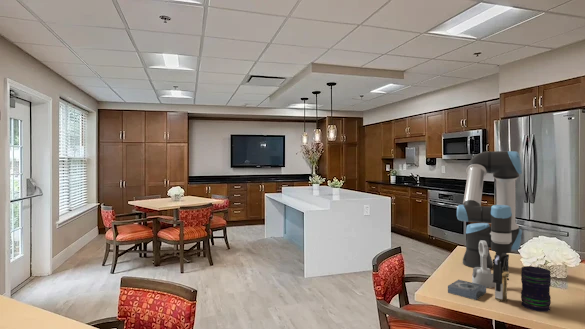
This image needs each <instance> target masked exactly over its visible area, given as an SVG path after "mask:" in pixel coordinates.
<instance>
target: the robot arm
mask: <svg viewBox="0 0 585 329" xmlns="http://www.w3.org/2000/svg"><path fill="white" fill-rule="evenodd" d="M522 167H523V166H522V160H521V154H520V152H518V151H516V150H515V151H514V150H513V151H512V150H499V151H497V150H496V151H494V150H493V151H489V150H488V151H482V152H480V153H478V154H476V155H475V156H473V157H472V158H471V159H470V160H469V161H468V163H467V165H466V170H465V173H466V174H467V176H466V181H465V183H466V184H465V190H464V196H463V202H462V204H458V205H457V207H456V218H457V220H458V221H461V222H466V223H468V222H469V223H470V224H467V225H466V228H465V229H466V230H465V235H466V236H465V238H466V239H465V252H464V254H463V257H462V265H465V266H467V267H470V268H475V267H481V258H480V254H479V242H480V241H481V240H483V241H486V242H487V245H488V256H487V268H489V269H492V268H493V269H492V274H493V282H494V283H495V287H494V299H495V298H498V299H503V283H502V273H503V270H504V271H508V272H509V258H510V255H509V254H510V253H511V252H512V251H518V250H519V249H520V247H521V242H522V234H523V230H522V229H521V228H520V227H519V226H520V225H519V224H517V223H516V181H517V179H519V178H520V175H522V174H523V168H522ZM487 174H492V177H493V179H495V180H496V204H493V205H492V206H483V205H482V196H483V190H484V189H483V187H484V179H485V176H486V175H487ZM490 250H491V251H493V252H495V255H494V256H493V257H494V258H492V256H491V253H490ZM508 281H510V278H509V276H507V282H508Z"/></svg>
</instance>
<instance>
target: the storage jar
mask: <svg viewBox="0 0 585 329" xmlns="http://www.w3.org/2000/svg"><path fill="white" fill-rule="evenodd" d="M520 277H521V279H520V281H521V290H520V298H521V306H522V307H523V306H524V307H523V308H525V309H527V310H531V311H535V312H544V313H547V312H550V310H551V299H552V298H551V294H550V287H551V286H552V283H551V280H552V278H551V271H550V270H549V269H546V268H543V267H540V266H533V265H532V266H530V265H529V266H527V265H525V266H522V267H521V273H520Z"/></svg>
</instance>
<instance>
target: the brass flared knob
mask: <svg viewBox="0 0 585 329" xmlns="http://www.w3.org/2000/svg"><path fill="white" fill-rule="evenodd" d="M507 276H508V277H509V276H510V271H509V270H508V271H504V270H503V273H502V283H503V299H498V298H495V297H494V300H496V301H498V302H507V301H508V280H507Z"/></svg>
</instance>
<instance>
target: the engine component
mask: <svg viewBox="0 0 585 329" xmlns="http://www.w3.org/2000/svg"><path fill="white" fill-rule="evenodd" d="M479 254H480V258H481V267H475V268H474V267H472V275H471V283H475V284H480V285H484V286H486V288H488V289H490V288H495V283H494V282H493V273H492V270H491V268H487V256H488V245H487V242H486V241H483V240H481V241H480V242H479Z"/></svg>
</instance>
